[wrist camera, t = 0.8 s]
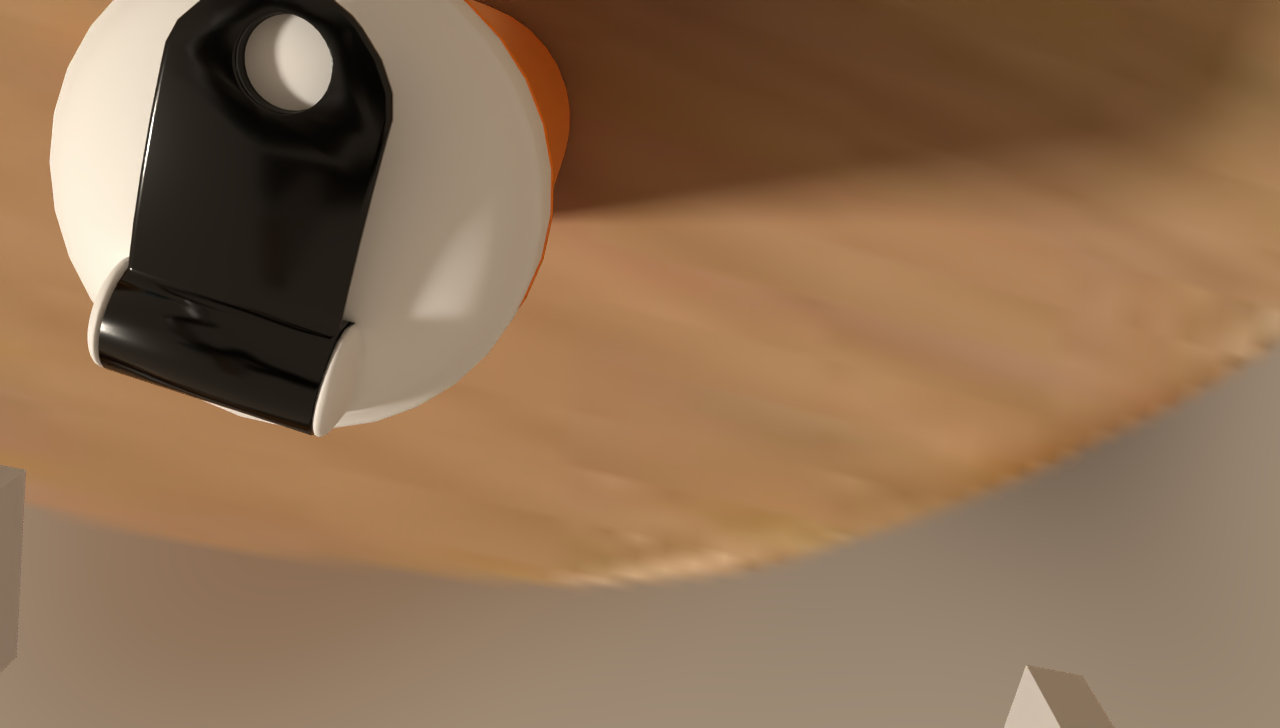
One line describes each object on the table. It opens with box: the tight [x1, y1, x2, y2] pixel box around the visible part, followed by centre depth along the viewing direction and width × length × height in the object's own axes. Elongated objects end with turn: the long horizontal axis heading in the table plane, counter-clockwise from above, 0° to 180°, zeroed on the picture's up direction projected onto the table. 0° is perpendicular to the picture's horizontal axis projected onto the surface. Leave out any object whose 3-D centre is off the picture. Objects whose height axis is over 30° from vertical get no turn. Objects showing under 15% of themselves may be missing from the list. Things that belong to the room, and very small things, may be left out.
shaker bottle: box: [50, 0, 570, 437], centre depth 28 cm, size 9×9×20 cm
